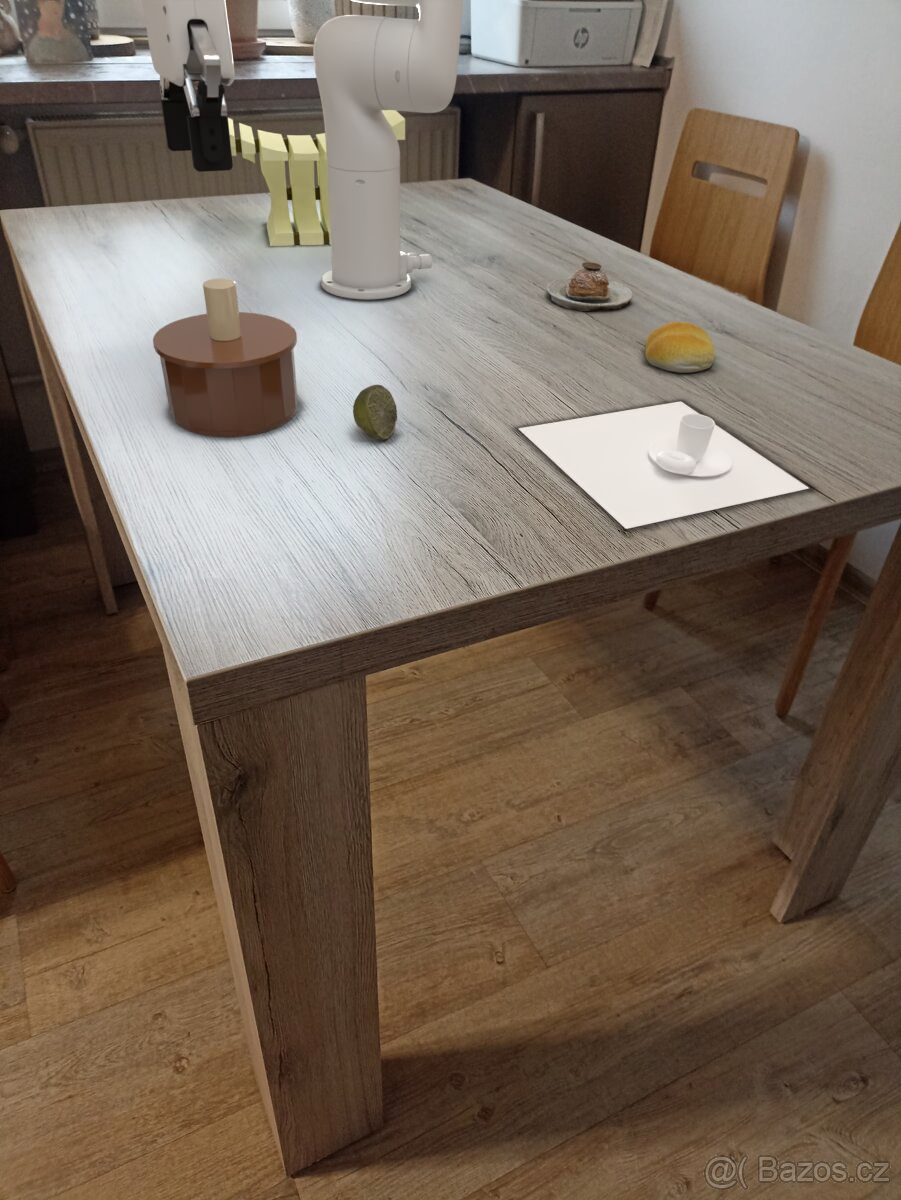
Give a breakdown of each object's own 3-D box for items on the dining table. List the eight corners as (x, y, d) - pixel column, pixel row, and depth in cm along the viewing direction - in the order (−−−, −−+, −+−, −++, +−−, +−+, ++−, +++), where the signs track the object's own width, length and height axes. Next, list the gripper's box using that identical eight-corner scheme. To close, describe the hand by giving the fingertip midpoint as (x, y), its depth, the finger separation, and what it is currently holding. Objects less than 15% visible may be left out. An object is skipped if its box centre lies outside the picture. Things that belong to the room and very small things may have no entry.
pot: (275, 377, 94) (269, 313, 90) (314, 423, 86) (309, 355, 81) (159, 395, 89) (146, 328, 85) (188, 446, 81) (176, 375, 76)
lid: (272, 316, 91) (267, 256, 87) (317, 362, 81) (313, 296, 78) (141, 333, 86) (130, 270, 82) (173, 384, 76) (161, 315, 72)
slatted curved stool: (389, 218, 151) (388, 103, 140) (404, 243, 139) (405, 118, 128) (215, 221, 145) (200, 101, 135) (215, 247, 133) (199, 117, 122)
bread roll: (644, 371, 99) (650, 338, 97) (644, 344, 106) (649, 312, 104) (716, 379, 98) (724, 345, 96) (711, 350, 105) (719, 318, 103)
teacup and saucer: (672, 488, 77) (681, 448, 75) (624, 449, 83) (631, 411, 81) (749, 472, 80) (760, 433, 78) (698, 436, 86) (707, 398, 84)
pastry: (550, 281, 125) (554, 249, 122) (633, 289, 123) (638, 257, 121) (541, 307, 116) (544, 273, 113) (630, 316, 114) (635, 281, 111)
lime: (395, 423, 86) (395, 376, 83) (401, 445, 82) (401, 396, 79) (351, 425, 86) (349, 377, 83) (355, 447, 82) (353, 398, 79)
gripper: (249, -89, 60) (270, 176, 70) (190, -85, 72) (216, 141, 83) (139, -97, 57) (178, 181, 68) (98, -91, 70) (136, 144, 80)
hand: (199, 159), depth 75 cm, fingers open, 9 cm apart
